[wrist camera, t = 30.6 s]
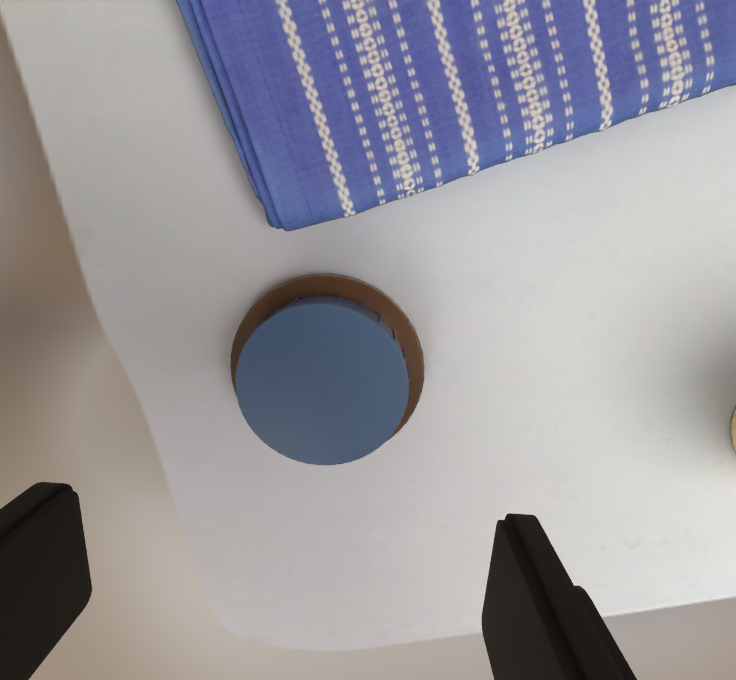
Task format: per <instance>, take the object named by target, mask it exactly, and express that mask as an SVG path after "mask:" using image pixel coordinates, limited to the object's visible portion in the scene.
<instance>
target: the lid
mask: <svg viewBox="0 0 736 680" xmlns="http://www.w3.org/2000/svg"><path fill="white" fill-rule="evenodd" d="M405 360H406V356H405V351H404V349H402V348H401V346H400V343H399V341H398V339H397V337H396V333H395V331H394V330H393V331H392V329H391V328H390V327H389V325H388V324H387V323H386V322H385V321H384V320H383V319H382V318H381V315H380V314H379V315H377V314H376V313H375V312H373V311H372V310H371V309H369V308H367V307H366V306H364V305H363V303H362V302H361V303H358V302H355V301H353V300H350V299H346V298H342V296H339V297H336V296H320V294H317V295H316V296H313V297H307V298H303V299H298V298H297V299H295V300H294V301H293V302H292V303H289V304H287V305H286V306H284V307H282V308H277V309H276V310H275V311H274V312H272V313H271V314H270V317H269V318H268V319H267V320H266V321H264V322H262V323H261V324H259V325H258V326H257V327H256V328H255V329H254V332H253V333H252V335H251V336H250V338H249V339H248V340H247V342H246V344H245V346H244V347H243V349H242V351H241V354H240V357H239V360H238V364H237V369H236V380H235V385H236V394H237V398H238V403H239V406H240V408H241V411H242V414H243V416H244V417H245V419H246V421H247V423H248V424H249V426H250V427H251V429H252V430H253V431H254V433H255V434H256V435H257V436H258V437H259V438H260V439H261V440H262V441H263V442H264V443H266V444H267V445H268V446H269V447H271V448H272V449H274V450H275V451H277V452H278V453H280V454H282V455H284V456H286V457H288V458H291V459H293V460H296V461H299V462H303V463H308V464H315V465H336V464H343V463H347V462H351V461H354V460H357V459H360V458H362V457H364V456H366V455H368V454H370V453H371V452H373V451H374V450H376V449H377V448H379V447H380V446H381V445H382V444H383V443H384V442H386V441H387V440H388V438H389V437H390V436H391V435H392V434H393V433H394V431H395V430H396V428H397V427H398V425H399V424H400V421H401V419H402V417H403V415H404V412H405V409H406V406H407V402H408V395H409V381H410V377H409V373H408V369H407V368H406V363H405Z"/></svg>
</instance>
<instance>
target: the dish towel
mask: <svg viewBox="0 0 736 680" xmlns="http://www.w3.org/2000/svg"><path fill="white" fill-rule="evenodd" d="M176 1H177V4H178V6H179V9H180V11H181V14H182V17H183V20H184V22H185V25H186V28H187V31H188V33H189V35H190V38H191V40H192V43H193V45H194V48H195V50H196V53H197V56H198V58H199V61H200V63H201V66H202V68H203V71H204V73H205V76H206V78H207V81H208V83H209V85H210V88H211V90H212V93H213V96H214V98H215V100H216V103H217V105H218V107H219V110H220V112H221V115H222V117H223V120H224V123H225V125H226V127H227V129H228V131H229V133H230V135H231V137H232V139H233V141H234V143H235V146H236V149H237V151H238V154H239V157H240V159H241V162H242V164H243V167H244V169H245V171H246V174H247V177H248V180H249V182H250V184H251V187H252V189H253V191H254V193H255V195H256V197H257V198H258V200H259V201H260V202H261V203H262V205H263V207H264V209H265V213H266V217H267V221H268V224H269V226H271V227H275V228H277V229H280V228H283V229H284V230H285V231H292V230H296V229H300V228H303V227H307V226H311V225H314V224H318V223H322V222H326V221H330V220H334V219H338V218H343V217H351V216H353V215H356V214H358V213H360V212H363V211H366V210H368V209H371V208H373V207H376V206H379V205H383V204H385V203H388V202H390V201H393V200H397V199H401V198H405V197H411V196H413V195H415V194H417V193H420V192H423V191H425V190H428V189H432V188H436V187H439V186H442V185H444V184H446V183H448V182H451V181H453V180H456V179H458V178H460V177H464V176H470V175H474V174H475V173H477V172H479V171H481V170H483V169H486V168H489V167H491V166H494V165H496V164H500V163H504V162H508V161H510V160H513V159H515V158H518V157H523V156H527V155H530V154H534V153H537V152H539V151H541V150H543V149H546V148H549V147H551V146H553V145H555V144H560V143H564V142H567V141H569V140H572V139H575V138H577V137H580V136H583V135H586V134H589V133H593V132H600V131H604V130H605V129H607V128H609V127H611V126H614V125H616V124H618V123H621V122H623V121H625V120H628V119H631V118H635V117H639V116H641V115H643V114H645V113H649V112H654V111H658V110H661V109H665V108H670V107H673V106H675V105H676V104H679V103H681V102H684V101H686V100H689V99H692V98H696V97H700V96H703V95H705V94H708V93H710V92H713V91H715V90H718V89H721V88H724V87H727V86H734V85H736V0H176Z"/></svg>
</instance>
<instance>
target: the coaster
mask: <svg viewBox="0 0 736 680" xmlns="http://www.w3.org/2000/svg"><path fill="white" fill-rule="evenodd" d="M317 294H320V296H336V297H339V296H342V298H346V299H350V300H353V301H355V302H358V303H361V302H362V303H363V305H364V306H366V307H367V308H369V309H371V310H372V311H373V312H375V313H376V314H377V315H379V314H380V315H381V318H382V319H383V320H384V321H385V322H386V323H387V324H388V325H389V327H390V328H391V329H392V331H393V330H394V331H395V333H396V337H397V339H398V341H399V343H400V346H401V348H402V349H404V351H405V356H406V360H405V363H406V368H407V369H408V373H409V377H410V381H409V395H408V402H407V406H406V409H405V412H404V415H403V417H402V419H401V421H400V424H399V425H398V427H397V428H396V430H395V431H394V433H393V434H392V435H391V436H390V437H389V438H388V440H389V439H390V438H392V437H393V436H394V435H395V434H396V433H397V432H398V431H399V430H400V429H401V428H402V427H403V426H404V425H405V423H406V422H407V421H408V419H409V418H410V416H411V415H412V413H413V412H414V410H415V407H416V405H417V403H418V401H419V398H420V395H421V392H422V387H423V381H424V360H423V353H422V349H421V345H420V342H419V339H418V336H417V334H416V332H415V329H414V327H413V325H412V324H411V322H410V320H409V319H408V317H407V316H406V314H405V313H404V312H403V311H402V309H401V308H400V307H399V306H398V305H397V304H396V303H395V302H394V301H393V300H392V299H391V298H390V297H388V296H387V295H386V294H384V293H383V292H382V291H380V290H378V289H377V288H375V287H373V286H371V285H369V284H367V283H365V282H362V281H360V280H357V279H353V278H349V277H346V276H339V275H312V276H305V277H301V278H298V279H294V280H291V281H289V282H287V283H285V284H282V285H280V286H279V287H277V288H275V289H274V290H272V291H270V292H269V293H267V294H266V295H265V296H264V297H262V298H261V299H260V300H259V301H258V302H257V303H256V304H255V305H254V306H253V307H252V308H251V309H250V310H249V312H248V313H247V315H246V316H245V318H244V319H243V320H242V322H241V324H240V326H239V328H238V330H237V333H236V336H235V339H234V342H233V346H232V352H231V376H232V382H233V386H234V390H235V393H236V385H235V380H236V369H237V364H238V360H239V357H240V354H241V351H242V349H243V347H244V346H245V344H246V342H247V340H248V339H249V338H250V336H251V335H252V333H253V332H254V329H255V328H256V327H257V326H258V325H259V324H261V323H262V322H264V321H266V320H267V319H268V318H269V317H270V314H271V313H272V312H274V311H275V310H276V309H277V308H282V307H284V306H286V305H287V304H289V303H292V302H293V301H294V300H295V299H297V298H298V299H303V298H307V297H313V296H316V295H317ZM236 395H237V394H236ZM384 443H385V442H384Z"/></svg>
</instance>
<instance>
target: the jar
mask: <svg viewBox="0 0 736 680" xmlns="http://www.w3.org/2000/svg"><path fill="white" fill-rule="evenodd" d="M731 437H732V442H733V446H734V448H735V451H736V409H735V411H734V414H733V418H732V424H731Z"/></svg>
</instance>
